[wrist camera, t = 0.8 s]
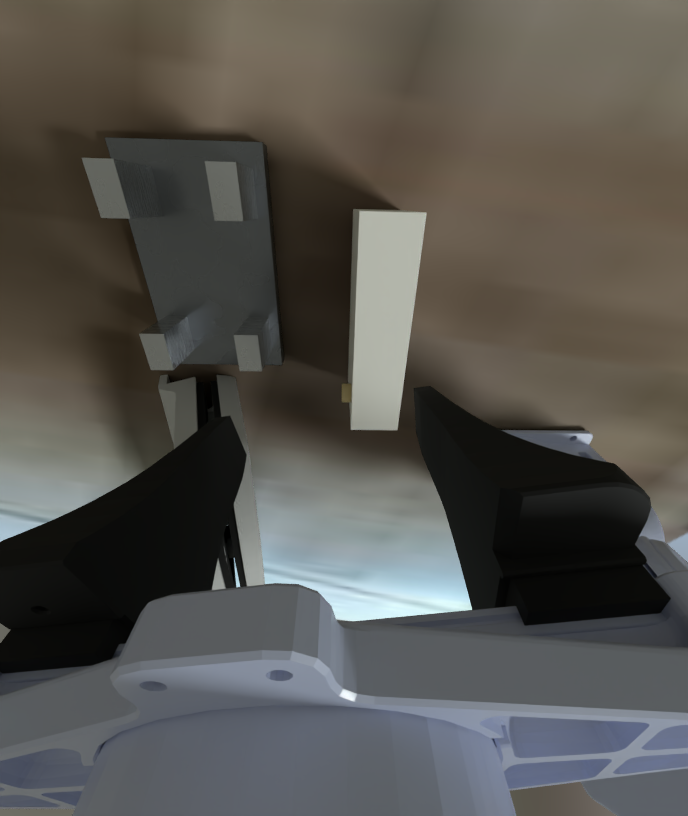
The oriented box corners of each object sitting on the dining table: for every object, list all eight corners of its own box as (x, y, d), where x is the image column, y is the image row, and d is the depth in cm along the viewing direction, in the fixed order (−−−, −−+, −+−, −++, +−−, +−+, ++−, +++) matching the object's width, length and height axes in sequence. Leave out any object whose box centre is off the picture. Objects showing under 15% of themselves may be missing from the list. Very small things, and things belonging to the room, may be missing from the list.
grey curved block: (158, 370, 22) (137, 469, 14) (232, 363, 23) (250, 449, 15) (200, 530, 30) (201, 646, 23) (252, 518, 32) (269, 622, 24)
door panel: (400, 210, 17) (426, 212, 12) (383, 379, 22) (397, 430, 17) (343, 208, 17) (346, 210, 12) (340, 378, 22) (341, 429, 17)
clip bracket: (266, 145, 15) (246, 128, 12) (284, 358, 21) (274, 387, 18) (117, 141, 15) (54, 123, 12) (176, 357, 21) (146, 386, 18)
